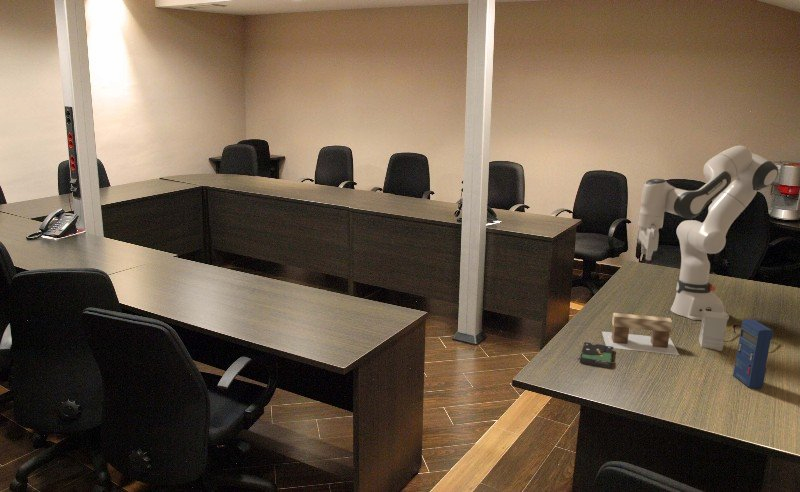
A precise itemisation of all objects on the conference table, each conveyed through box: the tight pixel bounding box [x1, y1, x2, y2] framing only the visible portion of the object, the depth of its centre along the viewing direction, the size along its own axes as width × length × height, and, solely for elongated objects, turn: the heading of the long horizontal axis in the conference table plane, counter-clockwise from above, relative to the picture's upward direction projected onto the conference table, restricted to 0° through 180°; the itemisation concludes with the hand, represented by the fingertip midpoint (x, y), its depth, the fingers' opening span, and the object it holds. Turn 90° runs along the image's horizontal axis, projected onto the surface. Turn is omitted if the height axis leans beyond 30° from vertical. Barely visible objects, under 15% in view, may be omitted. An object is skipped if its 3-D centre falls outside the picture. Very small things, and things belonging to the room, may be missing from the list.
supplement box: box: [698, 311, 728, 352], centre depth 233 cm, size 7×7×13 cm
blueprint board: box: [601, 331, 680, 356], centre depth 234 cm, size 25×16×1 cm, turn 79°
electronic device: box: [732, 318, 774, 390], centre depth 204 cm, size 10×5×20 cm, turn 5°
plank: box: [611, 312, 673, 333], centre depth 232 cm, size 20×4×4 cm, turn 79°
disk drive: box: [579, 341, 615, 369], centre depth 221 cm, size 10×3×15 cm
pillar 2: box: [651, 330, 671, 348], centre depth 232 cm, size 5×5×6 cm
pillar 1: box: [611, 326, 630, 344], centre depth 235 cm, size 5×5×6 cm
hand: (645, 256), depth 244 cm, fingers open, 8 cm apart
